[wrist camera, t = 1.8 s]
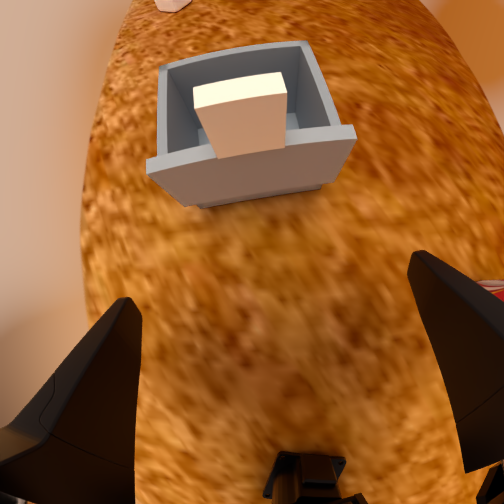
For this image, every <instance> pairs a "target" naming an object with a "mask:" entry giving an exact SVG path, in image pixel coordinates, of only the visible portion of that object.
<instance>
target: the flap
mask: <svg viewBox="0 0 504 504" xmlns="http://www.w3.org/2000/svg"><path fill="white" fill-rule="evenodd" d="M193 96H194V109H195V111H196V113H197V116H198V118H199V120H200V122H201V124H202V126H203V128H204V130H205V133H206V135H207V137H208V139H209V141H210V144H206V145H201V146H197V147H192V148H188V149H184V150H180V151H176V152H172V153H168V154H164V155H161V156H157V157H153V158H150V159H146V174H147V175H148V176H149V177H150V178H151V179H152V180H154V181H155V182H156V183H157V184H158V185H159V186H161V187H162V188H163V189H164V190H165V191H166V192H168V193H169V194H170V195H171V196H172V197H173V198H175V199H176V200H177V201H178V202H179V203H180V204H182V205H183V206H184V207H187V206H192V205H197V204H202V203H207V202H212V201H217V200H222V199H228V198H233V197H239V196H245V195H250V194H256V193H262V192H269V191H275V190H281V189H288V188H295V187H302V186H309V185H316V184H324V183H332V182H334V181H335V179H336V177H337V176H338V174H339V172H340V170H341V168H342V166H343V165H344V163H345V161H346V159H347V157H348V155H349V153H350V152H351V150H352V148H353V146H354V144H355V142H356V140H357V136H356V133H355V130H354V127H353V125H337V126H324V127H314V128H304V129H295V130H287V131H286V112H287V90H286V87H285V84H284V80H283V77H282V74H281V72H276V73H268V74H260V75H253V76H247V77H241V78H235V79H230V80H224V81H220V82H215V83H210V84H206V85H201V86H197V87H193Z"/></svg>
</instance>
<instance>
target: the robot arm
mask: <svg viewBox="0 0 504 504" xmlns="http://www.w3.org/2000/svg"><path fill="white" fill-rule="evenodd" d="M407 276H408V280H409V283H410V286H411V289H412V292H413V295H414V298H415V301H416V304H417V307H418V311H419V314H420V317H421V319H422V322H423V324H424V327H425V329H426V332H427V335H428V337H429V340H430V342H431V345H432V348H433V350H434V353H435V356H436V359H437V362H438V365H439V368H440V371H441V374H442V377H443V380H444V383H445V386H446V390H447V393H448V397H449V400H450V404H451V408H452V411H453V415H454V419H455V423H456V428H457V433H458V437H459V442H460V447H461V453H462V458H463V464H464V470H465V474H466V473H469V472H472V471H475V470H478V469H481V468H484V467H486V466H489V465H491V464H494V463H496V462H498V463H497V464H496V465H494V466H493V467H491V468H490V469H489V471H488V473H487V476H486V478H485V480H484V482H483V484H482V486H481V488H480V490H479V492H478V494H477V496H476V501H477V504H504V301H502V300H501V299H499V298H498V297H497V296H495V295H494V294H492V293H491V292H489V291H488V290H487V289H485V288H484V287H482V286H481V285H479V284H478V283H476V282H475V281H473V280H472V279H470V278H469V277H467V276H466V275H464V274H463V273H461V272H459V271H458V270H456V269H455V268H453V267H452V266H450V265H448V264H447V263H445V262H443V261H442V260H440V259H439V258H437V257H435V256H434V255H432V254H430V253H429V252H427V251H425V250H420V251H415V252H413V253H412V255H411V259H410V263H409V267H408V271H407ZM141 346H142V315H141V312H140V311H139V309H138V308H137V306H136V305H135V303H134V301H133V300H132V299H131V298H130V297H122V298H118V299H117V300H116V301H115V302H114V303H113V305H112V306H111V307H110V308H109V309H108V310H107V311H106V312H105V313H104V314H103V315H102V317H101V318H100V319H99V320H98V321H97V322H96V323H95V324H94V326H93V327H92V328H91V329H90V330H89V331H88V332H87V333H86V335H85V336H84V337H83V338H82V339H81V340H80V342H79V343H78V344H77V345H76V346H75V347H74V349H73V350H72V351H71V352H70V354H69V355H68V356H67V357H66V358H65V359H64V361H63V362H62V363H61V364H60V365H59V367H58V368H57V369H56V370H55V373H53V374H52V375H51V377H50V378H49V379H48V380H47V382H46V383H45V384H44V385H43V386H42V388H41V389H40V390H39V391H38V392H37V394H36V395H35V396H34V397H33V398H32V399H31V401H30V402H29V403H28V404H27V405H26V406H25V407H24V408H23V410H22V411H21V412H20V413H19V414H18V415H17V416H16V417H15V419H14V420H13V421H12V422H11V423H9V424H8V425H7V426H5V427H2V428H0V504H135V471H134V456H135V427H136V410H137V397H138V386H139V376H140V366H141ZM281 456H285V457H284V458H281ZM340 461H342V462H341V463H339V462H340ZM499 461H500V462H499ZM345 464H346V459H345V458H344V457H331V456H324V455H312V454H298V453H290V452H279V453H278V454H277V457H276V459H275V462H274V465H273V467H272V470H271V473H270V475H269V478H268V480H267V483H266V486H265V488H264V490H263V495H262V496H263V497H264V498H267V499H272V504H368V503H367V501H366V500H365V498H364V496H363V495H362V493H358V494H354V496H351V497H347V498H343V499H342V497H341V494H340V490H339V487H338V484H337V482H338V481H337V480H338V478H339V476H340V474H341V473H342V471H343V469H344V467H345ZM267 494H269V495H267Z"/></svg>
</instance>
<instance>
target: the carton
mask: <svg viewBox="0 0 504 504" xmlns="http://www.w3.org/2000/svg"><path fill="white" fill-rule="evenodd" d="M276 72H281V74H282V77H283V80H284V84H285V87H286V90H287V112H286V131H287V130H295V129H304V128H314V127H324V126H337V125H341V123H340V120H339V117H338V114H337V111H336V108H335V106H334V103H333V100H332V98H331V95H330V93H329V90H328V87H327V85H326V82H325V80H324V78H323V75H322V73H321V70H320V68H319V66H318V63H317V61H316V59H315V57H314V54H313V52H312V50H311V48H310V46H309V44H308V42H307V40H306V41H289V42H277V43H267V44H259V45H251V46H245V47H238V48H232V49H227V50H222V51H217V52H212V53H207V54H203V55H199V56H195V57H191V58H187V59H183V60H179V61H176V62H172V63H169V64H166V65H162V66H159V79H158V104H157V156H161V155H164V154H168V153H172V152H176V151H180V150H184V149H188V148H192V147H197V146H201V145H206V144H210V141H209V139H208V137H207V135H206V133H205V130H204V128H203V126H202V124H201V122H200V120H199V118H198V116H197V113H196V111H195V109H194V96H193V87H197V86H201V85H206V84H210V83H215V82H220V81H224V80H230V79H235V78H241V77H247V76H253V75H260V74H268V73H276ZM321 186H322V184H316V185H309V186H302V187H295V188H288V189H281V190H275V191H269V192H262V193H256V194H250V195H245V196H239V197H233V198H228V199H222V200H217V201H212V202H207V203H202V204H197V206H198V207H199V208H200V209H201V208H207V207H212V206H217V205H222V204H228V203H233V202H239V201H245V200H251V199H257V198H263V197H269V196H275V195H282V194H288V193H295V192H302V191H309V190H316V189H320V188H321Z"/></svg>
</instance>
